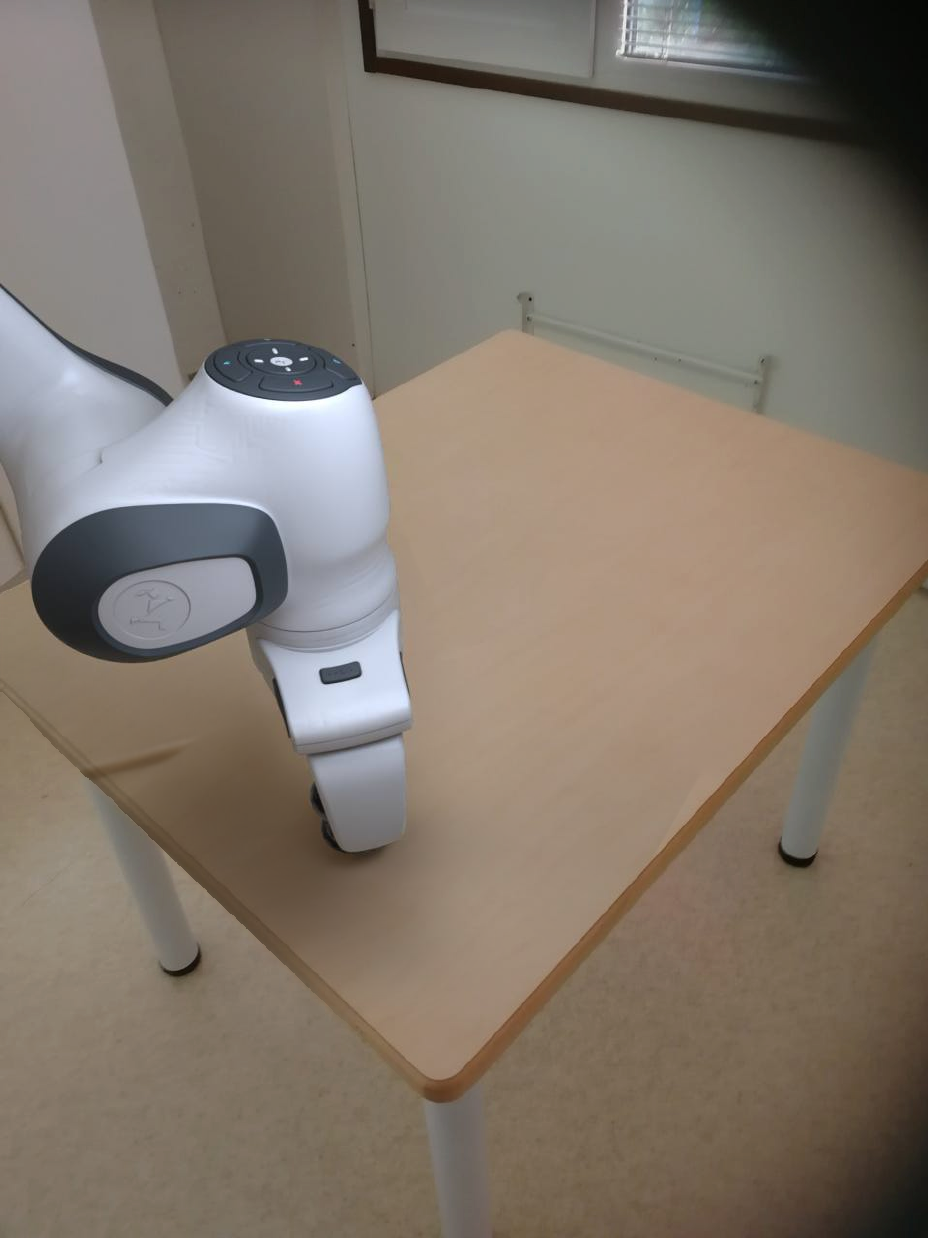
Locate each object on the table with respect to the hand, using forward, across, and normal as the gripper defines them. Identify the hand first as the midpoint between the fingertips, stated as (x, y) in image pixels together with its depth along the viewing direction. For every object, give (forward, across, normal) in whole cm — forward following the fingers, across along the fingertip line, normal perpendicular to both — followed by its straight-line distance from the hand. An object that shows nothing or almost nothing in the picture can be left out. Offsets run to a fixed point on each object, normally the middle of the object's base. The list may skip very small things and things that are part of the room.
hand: (350, 776), depth 64 cm
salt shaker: (+5, 0, 0) cm, 5 cm away
